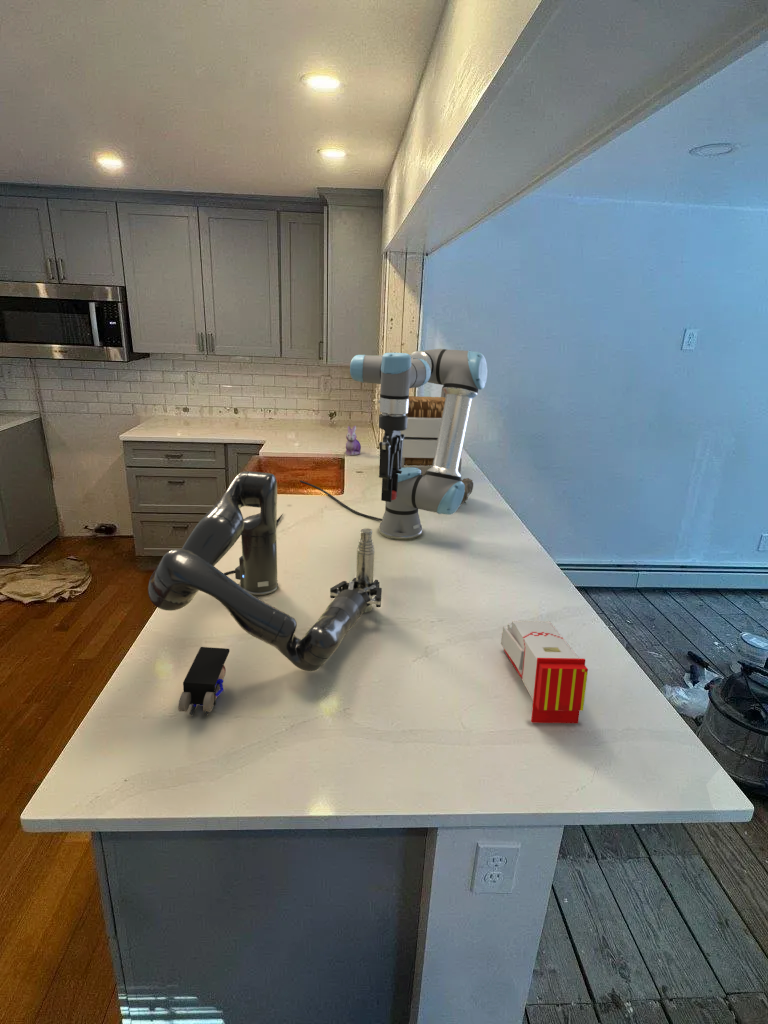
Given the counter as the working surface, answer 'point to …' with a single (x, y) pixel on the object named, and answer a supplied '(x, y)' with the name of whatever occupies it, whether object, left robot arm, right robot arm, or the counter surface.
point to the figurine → (352, 442)
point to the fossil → (467, 489)
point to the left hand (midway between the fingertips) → (368, 581)
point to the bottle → (365, 562)
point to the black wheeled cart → (204, 680)
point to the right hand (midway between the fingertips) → (389, 498)
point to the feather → (278, 519)
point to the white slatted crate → (423, 430)
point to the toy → (547, 670)
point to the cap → (394, 494)
